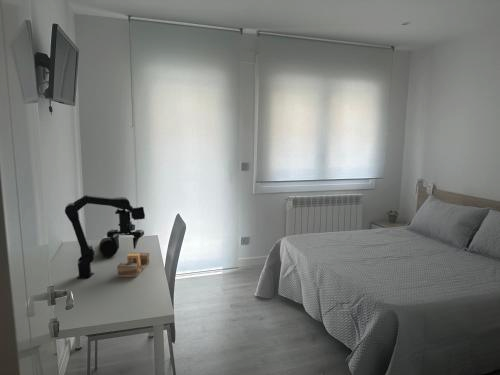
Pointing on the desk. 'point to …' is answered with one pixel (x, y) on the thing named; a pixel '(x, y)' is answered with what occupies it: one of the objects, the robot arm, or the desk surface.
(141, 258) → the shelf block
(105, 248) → the black cylinder
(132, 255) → the tan u-shaped bracket
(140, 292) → the desk surface
